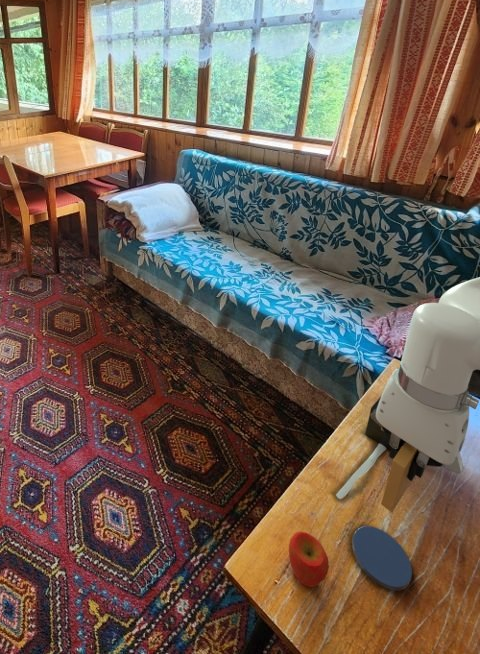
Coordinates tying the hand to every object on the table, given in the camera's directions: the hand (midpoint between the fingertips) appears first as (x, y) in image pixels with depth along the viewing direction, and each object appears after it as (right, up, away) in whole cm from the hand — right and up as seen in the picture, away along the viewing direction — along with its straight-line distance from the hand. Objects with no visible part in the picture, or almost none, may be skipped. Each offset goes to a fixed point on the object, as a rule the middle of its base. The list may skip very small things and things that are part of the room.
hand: (404, 468), depth 60 cm
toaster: (+21, -13, +30) cm, 39 cm away
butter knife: (+11, -17, +24) cm, 31 cm away
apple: (-13, -24, +7) cm, 28 cm away
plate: (+2, -23, +8) cm, 24 cm away
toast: (0, -5, +2) cm, 5 cm away
